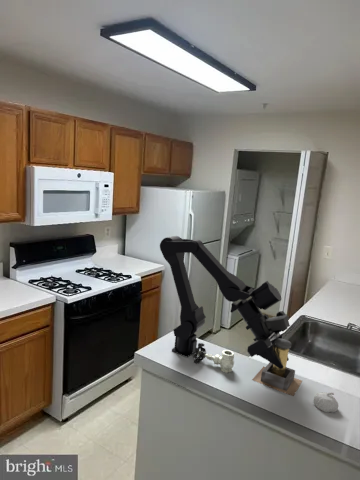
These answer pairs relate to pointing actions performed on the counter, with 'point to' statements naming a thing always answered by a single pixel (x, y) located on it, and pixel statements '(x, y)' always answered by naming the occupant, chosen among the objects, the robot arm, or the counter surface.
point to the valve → (216, 358)
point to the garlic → (326, 402)
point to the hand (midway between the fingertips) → (284, 364)
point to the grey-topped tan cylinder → (281, 355)
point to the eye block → (278, 380)
